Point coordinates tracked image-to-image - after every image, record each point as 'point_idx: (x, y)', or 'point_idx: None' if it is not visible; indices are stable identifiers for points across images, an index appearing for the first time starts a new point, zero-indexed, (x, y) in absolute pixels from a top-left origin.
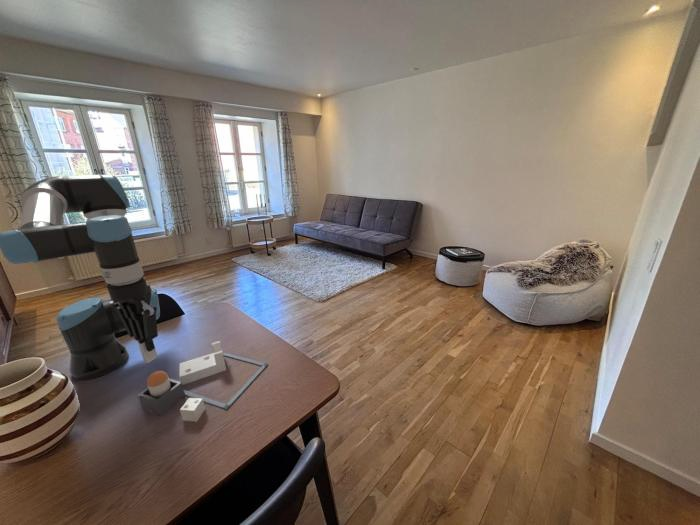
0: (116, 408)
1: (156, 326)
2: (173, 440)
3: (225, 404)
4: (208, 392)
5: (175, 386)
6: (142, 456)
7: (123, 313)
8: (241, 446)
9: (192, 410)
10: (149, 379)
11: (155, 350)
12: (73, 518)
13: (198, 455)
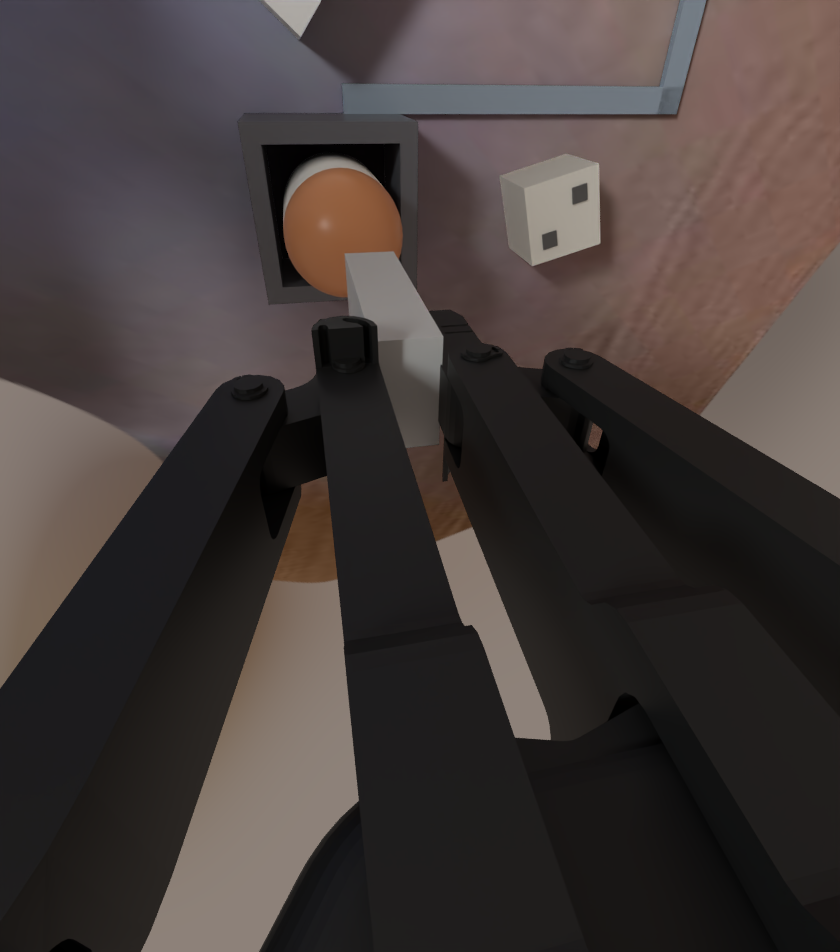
0: (150, 323)
1: (721, 435)
2: (537, 324)
3: (660, 90)
4: (511, 34)
5: (411, 169)
6: None
7: (169, 834)
8: (785, 245)
9: (593, 245)
10: (346, 291)
11: (405, 274)
12: (462, 529)
13: (654, 327)
